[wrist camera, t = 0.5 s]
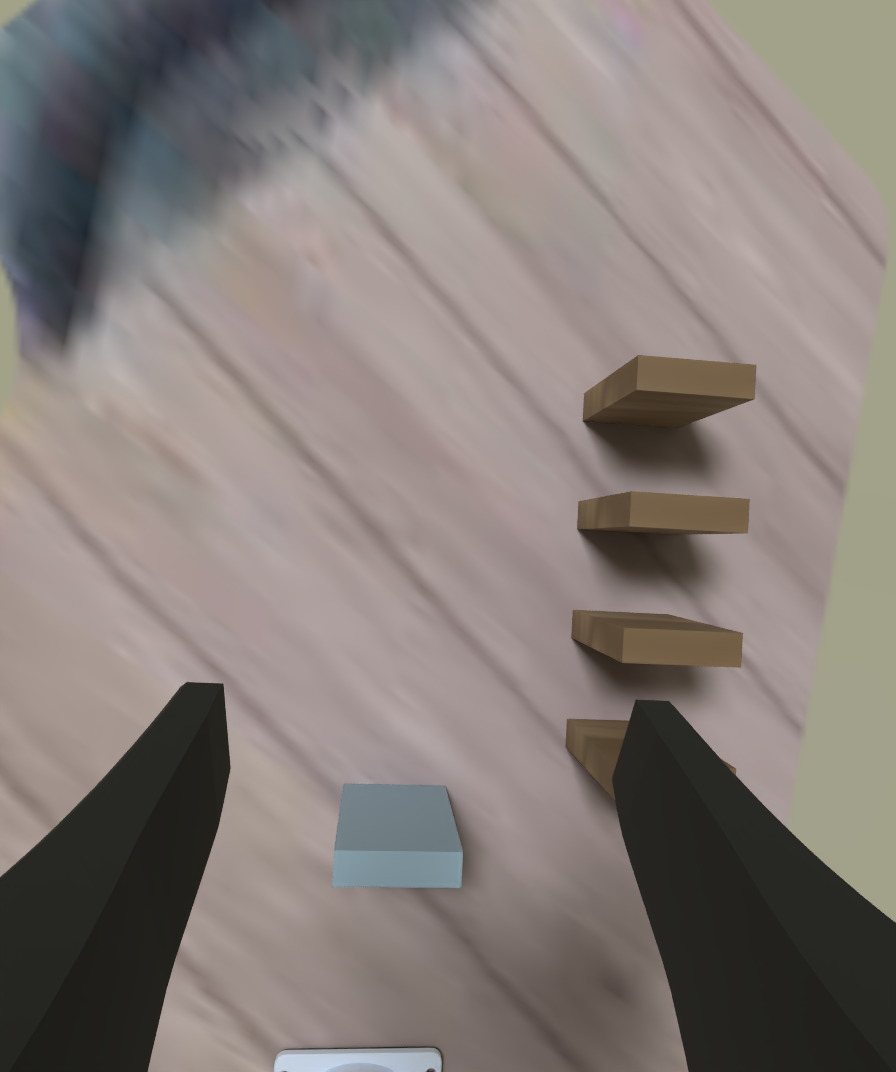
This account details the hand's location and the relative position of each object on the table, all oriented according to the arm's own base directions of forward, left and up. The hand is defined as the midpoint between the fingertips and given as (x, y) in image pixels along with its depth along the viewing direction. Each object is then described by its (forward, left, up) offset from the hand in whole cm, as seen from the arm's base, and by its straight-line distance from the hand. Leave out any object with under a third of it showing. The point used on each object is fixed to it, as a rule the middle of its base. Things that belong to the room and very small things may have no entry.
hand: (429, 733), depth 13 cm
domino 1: (-9, 0, -23) cm, 25 cm away
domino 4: (0, -11, -23) cm, 25 cm away
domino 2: (+11, -11, -23) cm, 28 cm away
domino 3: (+5, -11, -23) cm, 26 cm away
